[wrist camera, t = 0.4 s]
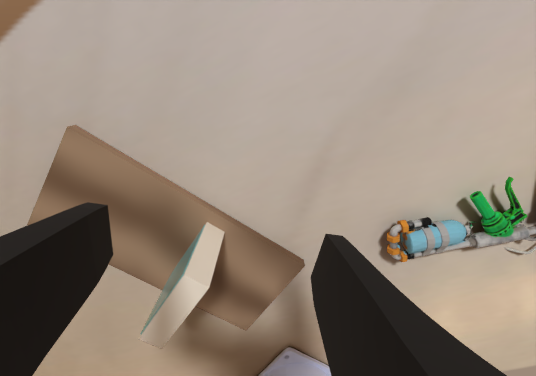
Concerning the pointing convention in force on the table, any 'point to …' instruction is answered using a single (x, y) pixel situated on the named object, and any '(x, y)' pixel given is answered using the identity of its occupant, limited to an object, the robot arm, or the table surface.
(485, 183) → the table surface
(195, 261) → the tile
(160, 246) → the board
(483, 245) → the flamethrower
